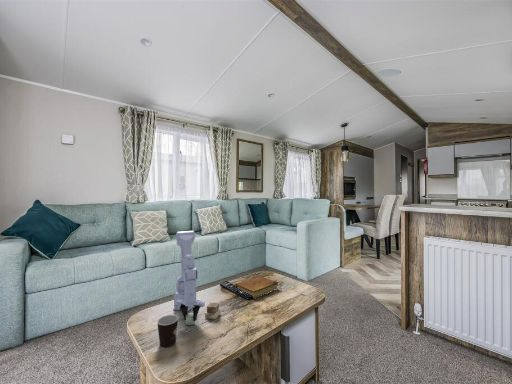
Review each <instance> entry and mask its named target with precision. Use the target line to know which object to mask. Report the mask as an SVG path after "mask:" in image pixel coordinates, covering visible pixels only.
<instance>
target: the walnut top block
mask: <svg viewBox="0 0 512 384" xmlns="http://www.w3.org/2000/svg"><path fill="white" fill-rule="evenodd" d="M219 308H220V303H219V302H209V303H208V305H206V311H207V312H208V313H216V312H217V311H218V309H219Z"/></svg>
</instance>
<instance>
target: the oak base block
mask: <svg viewBox="0 0 512 384" xmlns="http://www.w3.org/2000/svg"><path fill="white" fill-rule="evenodd" d="M220 314H221V310H220V307H219V309H218V311H217V312H216V313H208V312H207V310H206V311H205V312H204V318H205V319H211V320H212V319H213V320H216V319H217V318H218V316H219V315H220Z"/></svg>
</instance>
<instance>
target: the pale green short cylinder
mask: <svg viewBox="0 0 512 384" xmlns="http://www.w3.org/2000/svg"><path fill="white" fill-rule="evenodd" d="M195 323H196V321H193V312H188V314H186V320H185V325H187V326H192V325H195Z"/></svg>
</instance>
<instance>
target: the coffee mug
mask: <svg viewBox="0 0 512 384" xmlns="http://www.w3.org/2000/svg"><path fill="white" fill-rule="evenodd" d="M156 323H157V325H156V326H157V333H158V339H159V346H160V347H161V348H171V347H172V346H175V344H176V340H177V331H178V323H179V317H178V316H177V314H167V315H164V316H163V315H162V317H161V316H160V317H159V318H158V320H157V321H156Z"/></svg>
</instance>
